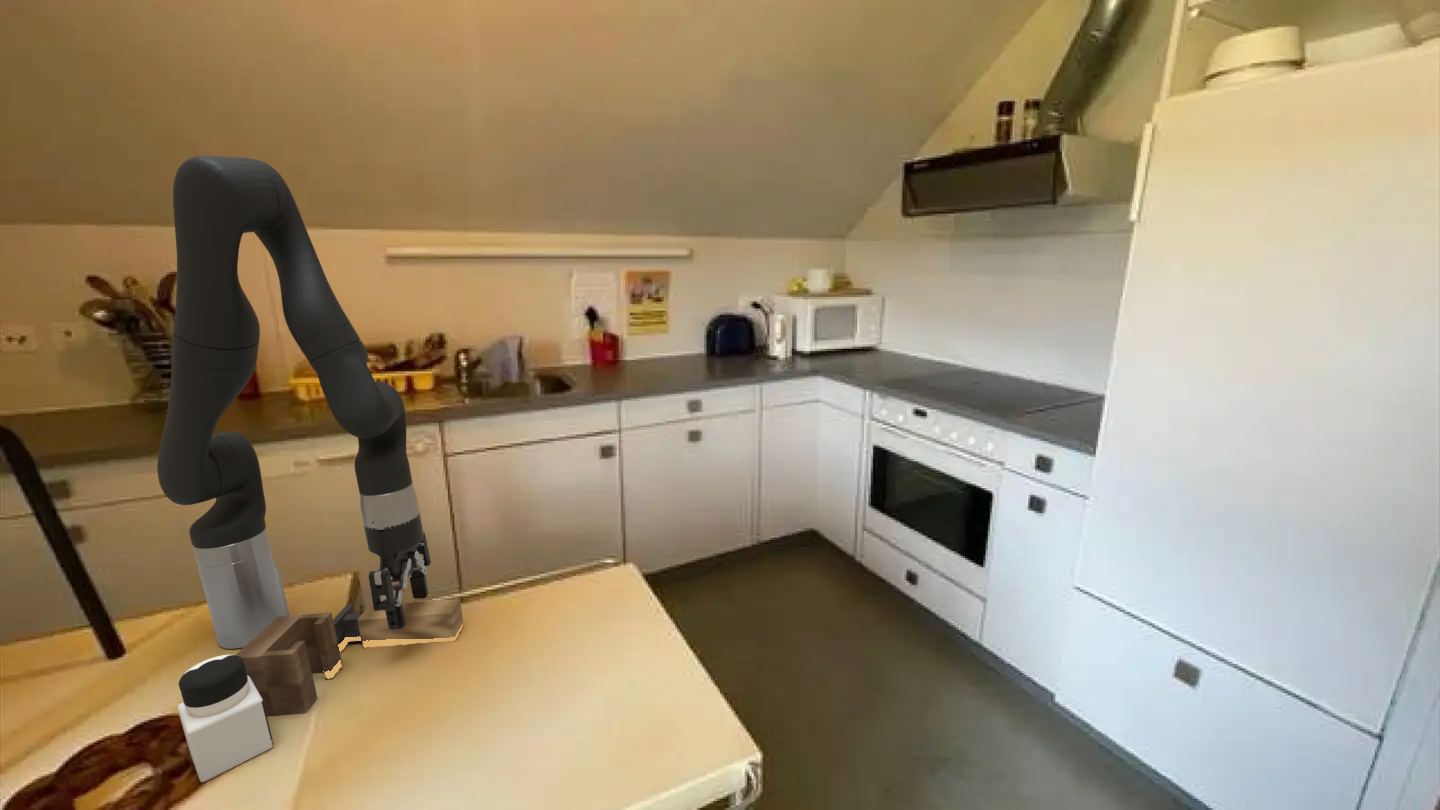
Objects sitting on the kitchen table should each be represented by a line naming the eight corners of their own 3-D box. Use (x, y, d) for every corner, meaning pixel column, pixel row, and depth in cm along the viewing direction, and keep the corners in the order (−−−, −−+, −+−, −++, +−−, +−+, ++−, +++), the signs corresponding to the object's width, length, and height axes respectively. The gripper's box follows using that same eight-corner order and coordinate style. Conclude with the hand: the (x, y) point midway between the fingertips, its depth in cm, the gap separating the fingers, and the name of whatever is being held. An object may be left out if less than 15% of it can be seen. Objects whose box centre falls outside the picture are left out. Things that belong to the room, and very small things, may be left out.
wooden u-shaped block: (342, 666, 90) (331, 612, 88) (305, 712, 81) (292, 653, 79) (289, 670, 90) (277, 616, 88) (246, 717, 81) (231, 658, 79)
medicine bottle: (274, 747, 75) (254, 663, 73) (201, 784, 70) (175, 695, 68) (260, 720, 80) (240, 640, 77) (190, 753, 75) (166, 668, 72)
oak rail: (465, 623, 100) (461, 596, 99) (454, 644, 95) (449, 615, 94) (352, 632, 99) (346, 605, 98) (334, 653, 94) (328, 625, 92)
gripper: (388, 499, 98) (405, 590, 102) (340, 538, 84) (362, 641, 88) (435, 496, 99) (450, 586, 102) (395, 534, 85) (415, 637, 88)
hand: (409, 612), depth 95 cm, fingers open, 8 cm apart
